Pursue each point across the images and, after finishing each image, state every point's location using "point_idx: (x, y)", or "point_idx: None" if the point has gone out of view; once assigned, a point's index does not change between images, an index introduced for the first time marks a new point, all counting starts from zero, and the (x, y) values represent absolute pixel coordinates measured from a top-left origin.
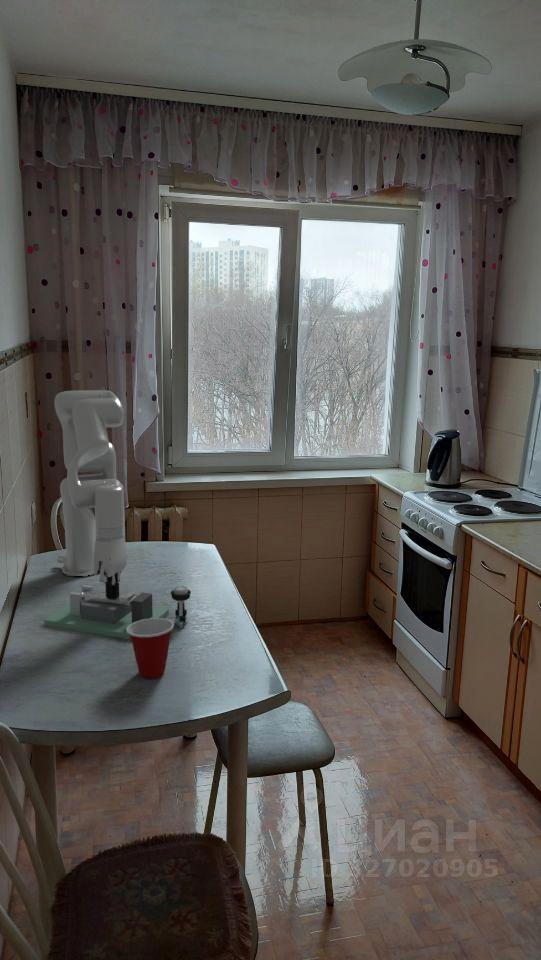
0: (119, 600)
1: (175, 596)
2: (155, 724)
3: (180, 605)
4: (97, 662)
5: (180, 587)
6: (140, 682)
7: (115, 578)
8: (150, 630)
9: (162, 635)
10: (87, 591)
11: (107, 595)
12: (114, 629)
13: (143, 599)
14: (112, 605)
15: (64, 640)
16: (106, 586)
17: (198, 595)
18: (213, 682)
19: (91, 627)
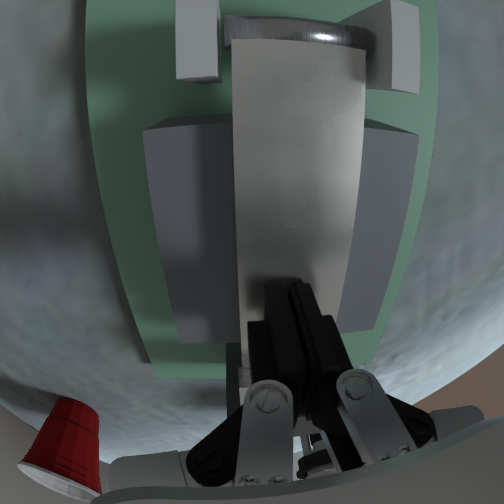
0: (245, 362)
1: (297, 472)
2: (22, 419)
3: (302, 447)
4: (22, 328)
5: None
6: (49, 401)
7: (335, 432)
8: (82, 469)
9: (62, 488)
10: (355, 62)
11: (266, 302)
12: (147, 314)
13: None
14: (228, 313)
15: (25, 167)
16: (275, 355)
17: (472, 336)
18: (124, 452)
19: (109, 228)
